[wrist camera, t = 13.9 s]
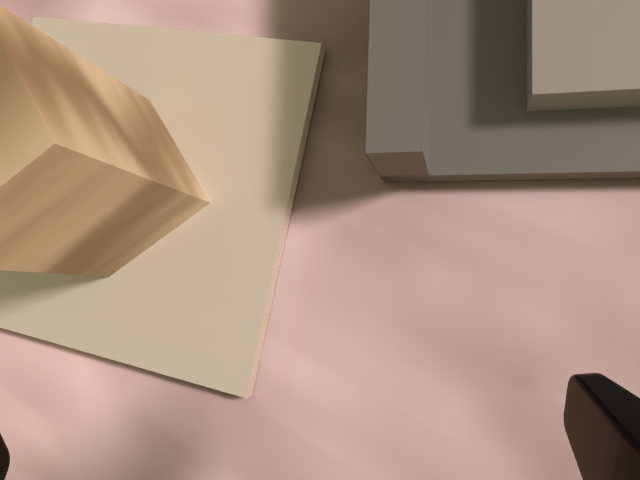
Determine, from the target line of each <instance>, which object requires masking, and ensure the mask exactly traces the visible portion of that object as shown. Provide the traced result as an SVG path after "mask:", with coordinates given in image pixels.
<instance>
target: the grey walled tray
mask: <svg viewBox="0 0 640 480" xmlns="http://www.w3.org/2000/svg"><path fill="white" fill-rule="evenodd" d="M365 153H366V155H367V156H368V158H369V159H370V161H371V162H372V164H373V165H374V167H375V168H376V170H377V171H378V173H379V174H380V176H381V177H382V179H383V180H384V182H442V181H503V180H563V179H624V178H640V0H370V12H369V46H368V80H367V114H366V148H365Z"/></svg>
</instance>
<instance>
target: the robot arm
mask: <svg viewBox="0 0 640 480" xmlns="http://www.w3.org/2000/svg"><path fill="white" fill-rule="evenodd" d="M564 426H565V430H566V433H567V436H568V439H569V442H570V445H571V447H572V450H573V453H574V456H575V459H576V461H577V464H578V467H579V470H580V473H581V475H582V478H583V480H640V398H639V397H637V396H636V395H634V394H632V393H631V392H629V391H628V390H626V389H625V388H623V387H621V386H620V385H618V384H617V383H615V382H613V381H612V380H610V379H609V378H607V377H605V376H604V375H602V374H599V373H588V374H575V375H573V376H571V377H570V379H569V382H568V387H567V394H566V402H565V409H564ZM9 463H10V455H9V451H8V448H7V446H6V444H5V442H4V440H3V438H2V436H1V434H0V480H4V479H5V477H6V474H7V471H8V468H9Z"/></svg>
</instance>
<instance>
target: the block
mask: <svg viewBox="0 0 640 480" xmlns="http://www.w3.org/2000/svg"><path fill="white" fill-rule="evenodd" d="M208 204H210V201H209V199H208V197H207V196H206V194H205V192H204V191H203V189H202V187H201V186H200V184H199V182H198V181H197V179H196V177H195V176H194V174H193V172H192V170H191V169H190V167H189V165H188V164H187V162H186V160H185V159H184V157H183V155H182V154H181V152H180V150H179V149H178V147H177V145H176V144H175V142H174V140H173V138H172V137H171V135H170V133H169V132H168V130H167V128H166V127H165V125H164V123H163V122H162V120H161V118H160V117H159V115H158V113H157V112H156V110H155V108H154V106H153V105H152V103H151V101H150V100H149V99H147V98H146V97H144V96H142V95H141V94H139V93H138V92H136V91H135V90H133V89H131V88H130V87H128V86H127V85H125V84H123V83H122V82H120V81H119V80H117V79H116V78H114V77H112V76H111V75H109V74H108V73H106V72H105V71H103V70H101V69H100V68H98V67H97V66H95V65H94V64H92V63H90V62H89V61H87V60H86V59H84V58H83V57H81V56H79V55H78V54H76V53H75V52H73V51H71V50H70V49H68V48H67V47H65V46H64V45H62V44H60V43H59V42H57V41H56V40H54V39H53V38H51V37H49V36H48V35H46V34H45V33H43V32H42V31H40V30H38V29H37V28H35V27H34V26H32V25H31V24H29V23H27V22H26V21H24V20H23V19H21V18H20V17H18V16H16V15H15V14H13V13H12V12H10V11H8V10H7V9H5V8H4V7H2V6H1V5H0V270H6V271H22V272H38V273H54V274H70V275H86V276H102V277H110V276H111V275H113V274H114V273H115V272H117V271H118V270H119V269H121V268H122V267H124V266H125V265H126V264H128V263H129V262H130V261H132V260H133V259H134V258H136V257H137V256H139V255H140V254H141V253H143V252H144V251H145V250H147V249H148V248H150V247H151V246H152V245H154V244H155V243H156V242H158V241H159V240H160V239H162V238H163V237H165V236H166V235H167V234H169V233H170V232H171V231H173V230H174V229H176V228H177V227H178V226H180V225H181V224H182V223H184V222H185V221H186V220H188V219H189V218H191V217H192V216H193V215H195V214H196V213H197V212H199V211H200V210H202V209H203V208H204V207H206V206H207V205H208Z"/></svg>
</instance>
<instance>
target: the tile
mask: <svg viewBox="0 0 640 480" xmlns="http://www.w3.org/2000/svg"><path fill="white" fill-rule="evenodd" d="M32 26H34V27H35V28H37V29H38V30H40V31H42V32H43V33H45V34H46V35H48V36H49V37H51V38H53V39H54V40H56V41H57V42H59V43H60V44H62V45H64V46H65V47H67V48H68V49H70V50H71V51H73V52H75V53H76V54H78V55H79V56H81V57H83V58H84V59H86V60H87V61H89V62H90V63H92V64H94V65H95V66H97V67H98V68H100V69H101V70H103V71H105V72H106V73H108V74H109V75H111V76H112V77H114V78H116V79H117V80H119V81H120V82H122V83H123V84H125V85H127V86H128V87H130V88H131V89H133V90H135V91H136V92H138V93H139V94H141V95H142V96H144V97H146V98H147V99H149V100H150V101H151V103H152V105H153V106H154V108H155V110H156V112H157V113H158V115H159V117H160V118H161V120H162V122H163V123H164V125H165V127H166V128H167V130H168V132H169V133H170V135H171V137H172V138H173V140H174V142H175V144H176V145H177V147H178V149H179V150H180V152H181V154H182V155H183V157H184V159H185V160H186V162H187V164H188V165H189V167H190V169H191V170H192V172H193V174H194V176H195V177H196V179H197V181H198V182H199V184H200V186H201V187H202V189H203V191H204V192H205V194H206V196H207V197H208V199H209V201H210V204H208V205H207V206H206V207H204V208H203V209H202V210H200V211H199V212H197V213H196V214H195V215H193V216H192V217H191V218H189V219H188V220H186V221H185V222H184V223H182V224H181V225H180V226H178V227H177V228H176V229H174V230H173V231H171V232H170V233H169V234H167V235H166V236H165V237H163V238H162V239H160V240H159V241H158V242H156V243H155V244H154V245H152V246H151V247H150V248H148V249H147V250H145V251H144V252H143V253H141V254H140V255H139V256H137V257H136V258H134V259H133V260H132V261H130V262H129V263H128V264H126V265H125V266H124V267H122V268H121V269H119V270H118V271H117V272H115V273H114V274H113V275H111V276H110V277H102V276H86V275H70V274H54V273H38V272H22V271H6V270H0V328H4V329H7V330H11V331H14V332H17V333H21V334H24V335H28V336H31V337H35V338H38V339H42V340H45V341H49V342H52V343H56V344H59V345H63V346H66V347H70V348H73V349H76V350H80V351H83V352H87V353H90V354H94V355H97V356H101V357H104V358H108V359H111V360H115V361H118V362H122V363H125V364H129V365H132V366H136V367H139V368H142V369H146V370H149V371H153V372H156V373H160V374H163V375H167V376H170V377H174V378H177V379H181V380H184V381H188V382H191V383H195V384H198V385H201V386H205V387H208V388H212V389H215V390H219V391H222V392H226V393H229V394H233V395H236V396H240V397H243V398H248V397H250V396H252V395H253V390H254V385H255V381H256V376H257V371H258V366H259V362H260V357H261V352H262V348H263V343H264V338H265V333H266V329H267V324H268V319H269V315H270V310H271V305H272V301H273V296H274V291H275V286H276V282H277V277H278V272H279V268H280V263H281V258H282V253H283V249H284V244H285V239H286V235H287V230H288V225H289V221H290V216H291V211H292V206H293V202H294V197H295V192H296V188H297V183H298V178H299V173H300V169H301V164H302V159H303V155H304V150H305V145H306V141H307V136H308V131H309V126H310V122H311V117H312V112H313V108H314V103H315V98H316V93H317V89H318V84H319V79H320V75H321V70H322V65H323V60H324V56H325V51H326V50H325V48H324V46H323V44H322V43H318V42H307V41H296V40H285V39H274V38H263V37H252V36H241V35H230V34H219V33H207V32H196V31H185V30H174V29H163V28H152V27H141V26H130V25H119V24H108V23H97V22H85V21H74V20H63V19H52V18H41V17H34V19H33V23H32Z"/></svg>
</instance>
